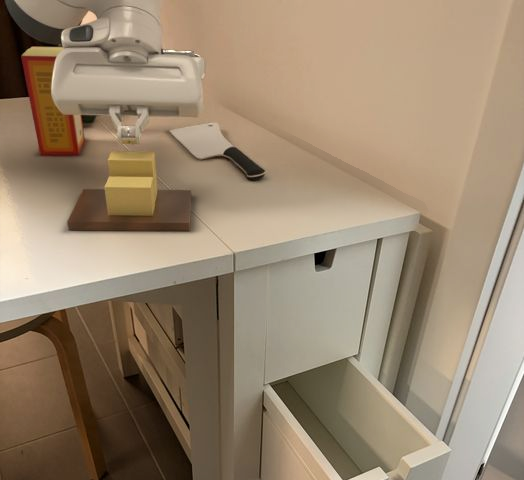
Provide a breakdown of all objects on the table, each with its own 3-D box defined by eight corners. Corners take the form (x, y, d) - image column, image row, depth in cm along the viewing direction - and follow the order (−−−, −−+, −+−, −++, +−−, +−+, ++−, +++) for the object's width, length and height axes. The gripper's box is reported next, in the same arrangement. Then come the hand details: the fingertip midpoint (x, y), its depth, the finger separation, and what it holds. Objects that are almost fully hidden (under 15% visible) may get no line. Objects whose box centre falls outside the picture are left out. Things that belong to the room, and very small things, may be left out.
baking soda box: (49, 139, 105) (31, 44, 95) (84, 139, 106) (70, 45, 96) (40, 155, 97) (20, 53, 88) (78, 155, 98) (63, 54, 89)
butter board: (68, 230, 74) (66, 221, 73) (84, 196, 83) (83, 188, 82) (189, 230, 75) (189, 222, 74) (191, 197, 85) (191, 190, 84)
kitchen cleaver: (168, 126, 112) (215, 117, 114) (170, 135, 113) (216, 126, 115) (216, 179, 89) (273, 166, 91) (217, 189, 90) (274, 176, 92)
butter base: (112, 201, 79) (107, 159, 75) (116, 191, 82) (111, 150, 79) (155, 202, 79) (152, 160, 76) (157, 192, 83) (154, 151, 79)
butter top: (112, 204, 78) (108, 215, 75) (108, 176, 76) (104, 186, 73) (155, 204, 79) (152, 215, 76) (153, 176, 76) (150, 187, 73)
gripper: (205, 65, 81) (206, 154, 79) (62, 61, 79) (59, 152, 77) (204, 35, 75) (205, 131, 73) (49, 30, 73) (45, 127, 71)
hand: (129, 141), depth 75 cm, fingers closed
